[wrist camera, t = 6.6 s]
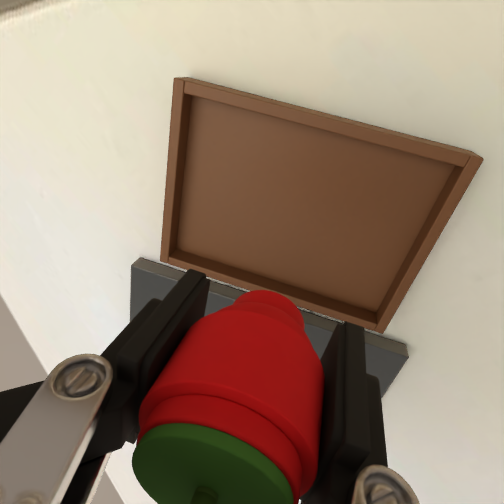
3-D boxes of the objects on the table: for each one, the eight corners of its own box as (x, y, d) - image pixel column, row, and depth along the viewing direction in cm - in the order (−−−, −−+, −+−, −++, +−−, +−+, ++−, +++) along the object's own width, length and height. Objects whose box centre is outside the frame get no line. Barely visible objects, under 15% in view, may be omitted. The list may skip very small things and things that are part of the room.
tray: (472, 151, 16) (484, 158, 15) (380, 317, 22) (383, 334, 20) (187, 77, 18) (173, 77, 16) (170, 249, 24) (159, 261, 22)
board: (406, 344, 22) (409, 357, 21) (349, 433, 28) (349, 447, 27) (139, 257, 25) (130, 265, 24) (135, 356, 30) (128, 365, 29)
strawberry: (348, 293, 10) (345, 566, 4) (307, 381, 12) (271, 641, 6) (219, 250, 10) (69, 447, 5) (202, 342, 13) (83, 553, 7)
